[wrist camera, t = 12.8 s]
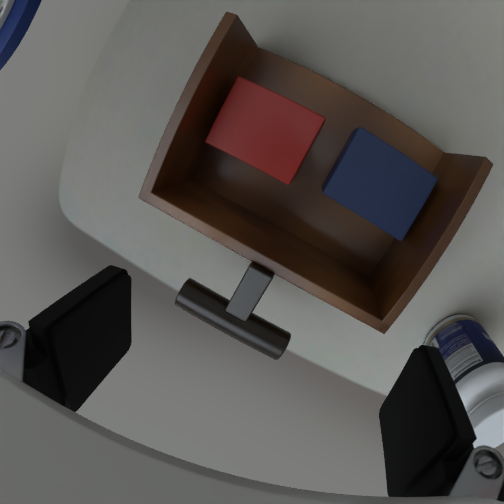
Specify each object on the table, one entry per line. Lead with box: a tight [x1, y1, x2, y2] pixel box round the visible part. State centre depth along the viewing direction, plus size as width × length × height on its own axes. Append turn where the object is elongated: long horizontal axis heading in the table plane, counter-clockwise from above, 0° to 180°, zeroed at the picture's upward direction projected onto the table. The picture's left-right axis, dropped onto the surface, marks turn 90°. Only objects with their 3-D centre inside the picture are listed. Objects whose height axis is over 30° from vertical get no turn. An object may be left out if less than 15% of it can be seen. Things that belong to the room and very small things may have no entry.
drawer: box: [139, 12, 493, 360], centre depth 16 cm, size 14×14×7 cm
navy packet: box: [322, 127, 438, 241], centre depth 16 cm, size 5×4×3 cm
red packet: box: [205, 76, 326, 185], centre depth 17 cm, size 5×4×3 cm
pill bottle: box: [424, 315, 504, 448], centre depth 16 cm, size 5×5×10 cm
